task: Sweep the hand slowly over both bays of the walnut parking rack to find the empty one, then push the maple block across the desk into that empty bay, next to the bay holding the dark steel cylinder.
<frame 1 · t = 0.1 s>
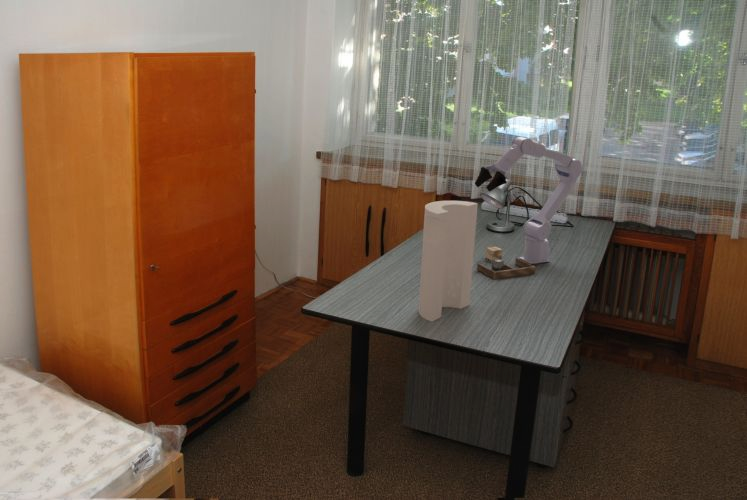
hand: (482, 187, 274), 32 cm above the table, tool tilted 50°, fingers open, 7 cm apart
white curved column: (438, 309, 242), on the table
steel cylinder: (496, 273, 279), on the table
parking rack: (503, 270, 283), on the table
maple block: (493, 259, 296), on the table
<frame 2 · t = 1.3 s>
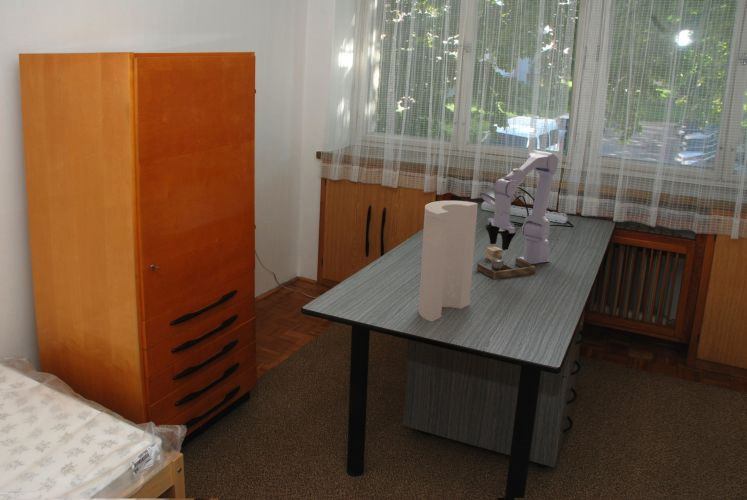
hand: (499, 246, 276), 10 cm above the table, tool pointing down, fingers open, 7 cm apart
nothing on the table moved.
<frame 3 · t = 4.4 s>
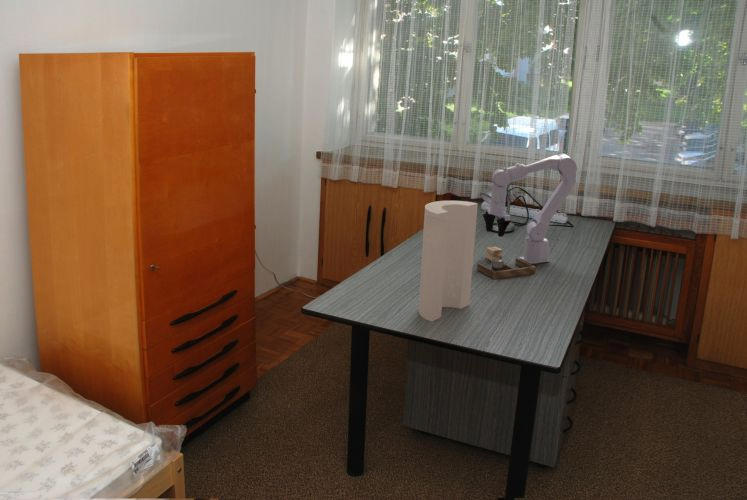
hand: (495, 233, 293), 10 cm above the table, tool pointing down, fingers open, 7 cm apart
nothing on the table moved.
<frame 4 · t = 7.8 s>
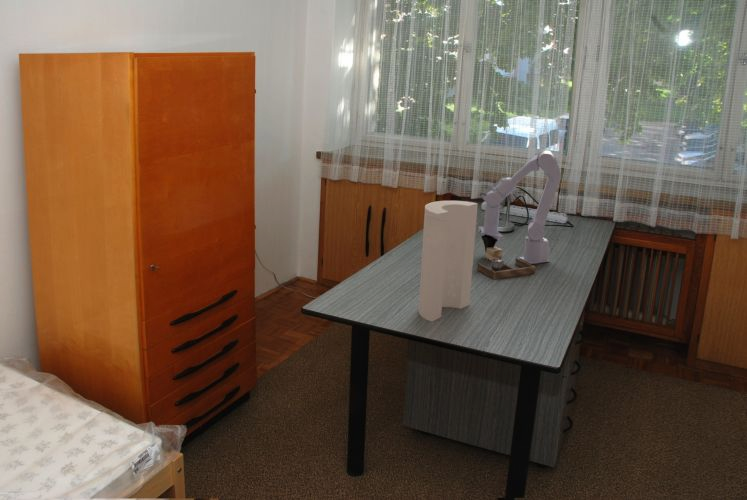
hand: (488, 253, 298), 1 cm above the table, tool pointing down, fingers closed
maple block: (493, 259, 296), on the table, touching gripper
everything else where it was.
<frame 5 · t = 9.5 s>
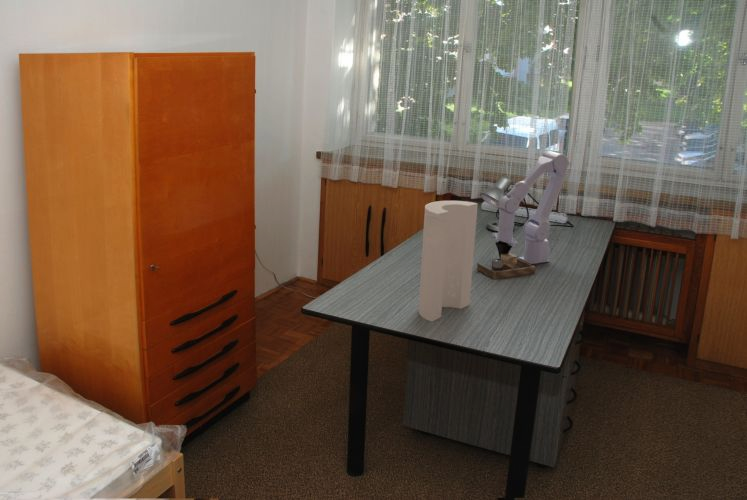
hand: (502, 260, 290), 1 cm above the table, tool pointing down, fingers closed
maple block: (507, 266, 287), on the table, touching gripper
everything else where it was.
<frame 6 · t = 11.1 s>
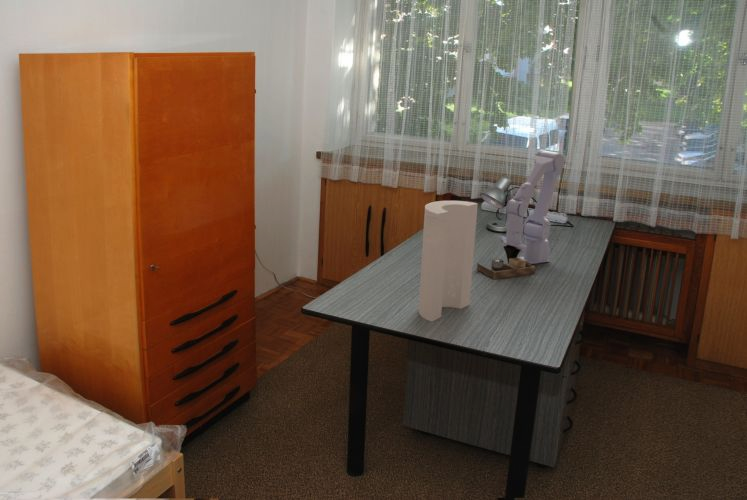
hand: (511, 264, 286), 1 cm above the table, tool pointing down, fingers closed
maple block: (516, 270, 283), on the table, touching gripper
everything else where it was.
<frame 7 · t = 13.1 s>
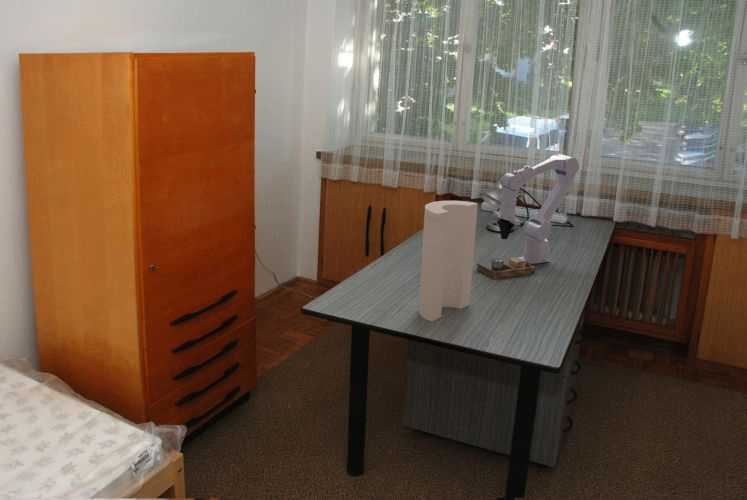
hand: (504, 238, 287), 10 cm above the table, tool pointing down, fingers closed
maple block: (516, 270, 283), on the table
everything else where it was.
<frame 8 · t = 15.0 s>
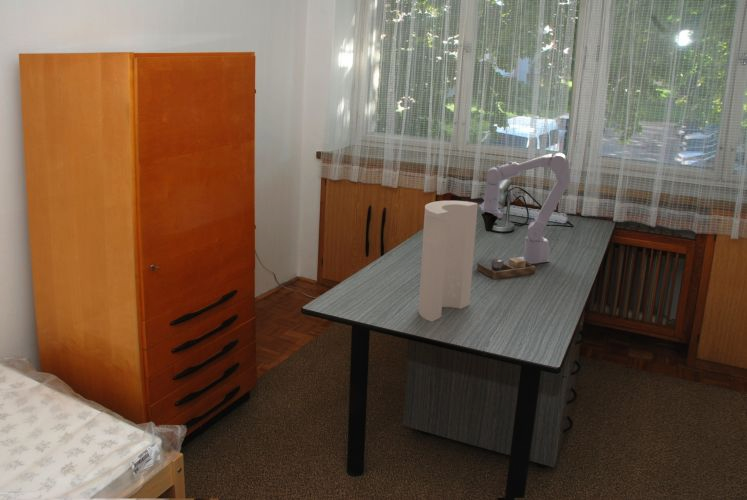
hand: (488, 230, 297), 10 cm above the table, tool pointing down, fingers closed
nothing on the table moved.
at the end: maple block 0.3 cm from the target spot on the parking rack, point 0.0 cm above the parking rack's base; maple block tilted 0°; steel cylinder moved 0.1 cm from its start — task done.
